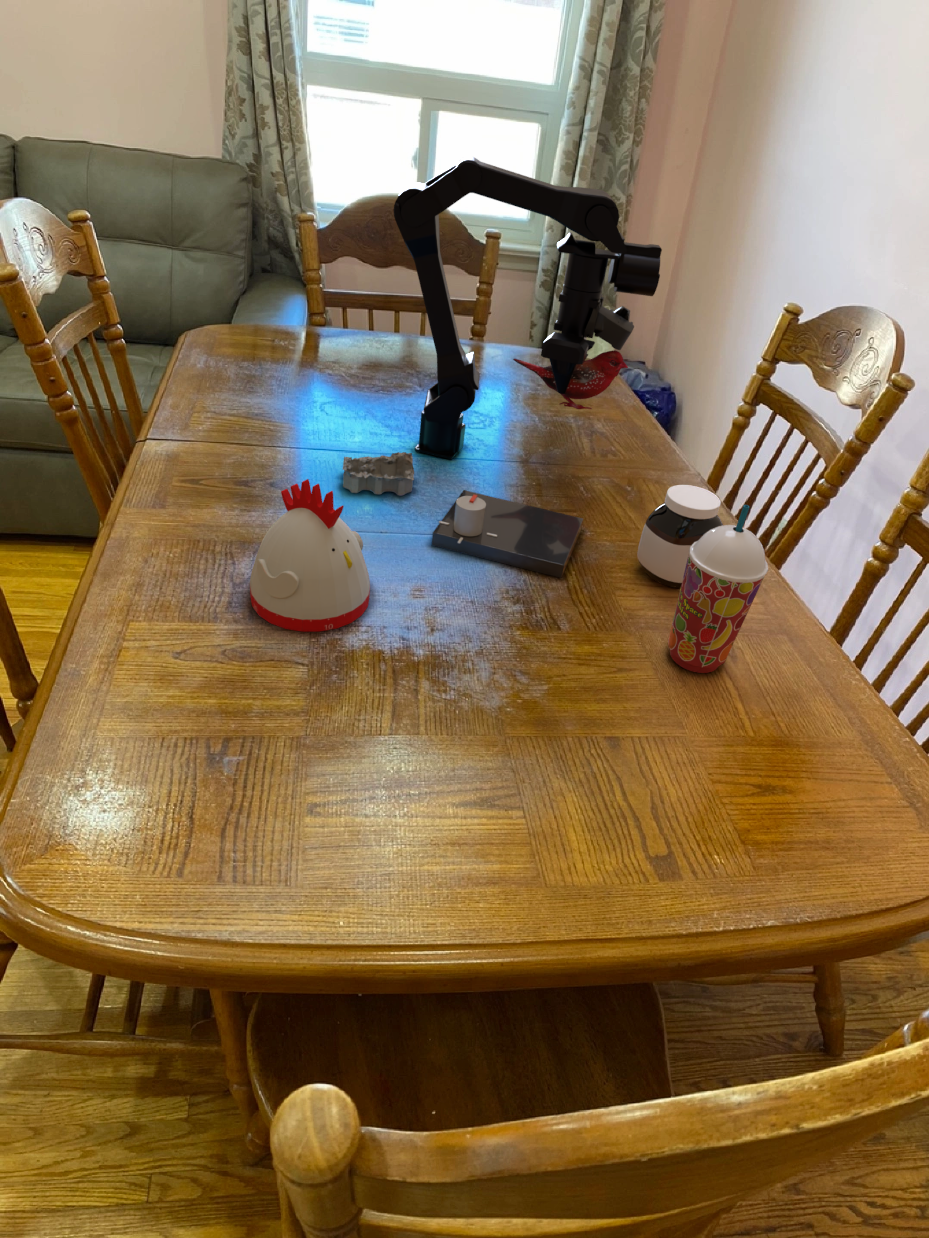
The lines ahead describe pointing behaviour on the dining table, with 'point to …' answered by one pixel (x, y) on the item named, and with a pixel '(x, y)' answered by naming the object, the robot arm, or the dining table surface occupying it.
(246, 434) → the dining table surface
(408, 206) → the robot arm
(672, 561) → the spread jar
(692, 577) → the smoothie
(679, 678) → the dining table surface
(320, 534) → the kitchen timer
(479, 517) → the stove knob
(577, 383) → the decorative bird figurine
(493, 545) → the stove
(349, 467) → the egg carton
